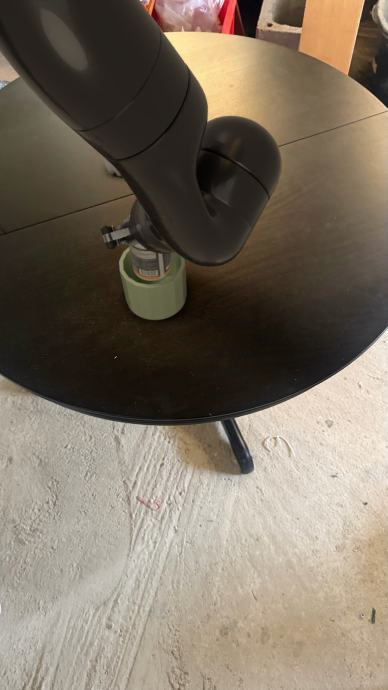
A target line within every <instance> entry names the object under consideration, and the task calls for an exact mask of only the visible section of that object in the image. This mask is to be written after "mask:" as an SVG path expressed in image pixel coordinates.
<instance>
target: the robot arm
mask: <svg viewBox="0 0 388 690" xmlns="http://www.w3.org/2000/svg"><path fill="white" fill-rule="evenodd" d="M0 54H1V55H2V56H3V57H4V59H5V60H6V61H7V62H8V64H9V65H10V66H11V67H12V69H13V70H14V71H15V73H16V74H17V75H18V76H19V78H21V80H22V81H23V82H24V84H26V85H27V87H28V88H29V89H30V90H31V91H32V92H33V93H34V95H36V96H37V97H38V99H39V100H40V101H41V102H42V103H43V104H44V105H45V106H46V107H47V108H48V109H49V110H50V111H51V112H52V113H53V114H54V115H55V116H56V117H57V118H59V120H61V121H62V122H63V123H64V124H65V125H67V127H68V128H70V129H71V130H72V131H73V132H74V133H76V135H78V136H79V137H80V138H81V139H82V140H83V141H85V142H86V143H87V144H88V145H89V146H90V147H92V148H93V149H94V151H96V152H97V153H98V154H99V155H101V156H102V158H103V157H104V158H105V159H106V160H108V161H109V162H110V163H111V164H112V165H113V166H114V167H115V168H116V169H117V171H118V172H119V173H120V174H121V176H120V177H122V179H123V181H125V183H126V185H127V186H128V187H129V189H130V190H131V192H132V193H133V195H134V196H135V198H136V199H135V200H134V202H133V204H132V206H131V208H130V213H129V216H130V217H129V216H128V217H126V218H124V219H123V220H122V223H120V224H118V225H117V226H115V225H108V226H107V225H104V226H102V228H100V229H99V230H100V233H101V235H102V239H103V243H104V244H105V248H106V250H114V249H117V247H119V246H129V243H130V245H131V246H134V245H137V244H140V245H142V246H143V247H144V248H145V249H147V250H149V251H151V252H154V253H158V254H168V253H174V252H176V253H177V254H178V255H179V256H181V257H182V258H184V259H185V261H187V262H189V263H192V264H194V265H197V266H201V267H205V268H206V267H208V268H209V267H210V268H211V267H213V268H214V267H219V266H223V265H226V264H228V263H230V262H231V261H233V260H234V259H235V258H237V256H238V255H239V254H240V253H241V251H242V250H243V248H244V246H245V245H246V243H247V241H248V239H249V238H250V236H251V234H252V232H253V230H254V228H255V227H256V225H257V223H258V221H259V219H260V218H261V216H262V214H263V212H264V210H265V208H266V207H267V205H268V203H269V201H270V199H271V198H272V196H273V194H274V193H275V190H276V188H277V186H278V184H279V182H280V178H281V176H282V168H283V159H282V155H281V151H280V147H279V146H278V143H277V141H276V140H275V138H274V137H273V136H272V134H271V133H270V131H269V130H268V129H266V128H265V127H264V126H262V125H261V124H260V123H258V122H257V121H255V120H253V119H250V118H247V117H244V116H239V115H223V116H218V117H214V118H212V119H210V120H209V105H208V99H207V96H206V95H207V94H205V91H204V88H203V87H202V85H201V84H200V82H199V80H198V79H197V77H196V76H195V74H194V72H193V71H192V70H191V68H190V67H189V66H188V64H187V63H186V62H185V60H184V59H183V58H182V56H181V55H180V53H179V52H178V51H177V49H176V47H174V45H173V44H172V42H171V40H169V38H168V36H166V34H165V33H164V31H163V30H162V28H161V27H160V25H158V23H157V21H156V20H155V19H154V18H153V16H152V15H151V13H149V11H148V9H147V8H146V7H145V6H144V4H143V3H142V1H141V0H0Z"/></svg>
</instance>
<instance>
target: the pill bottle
mask: <svg viewBox="0 0 388 690" xmlns="http://www.w3.org/2000/svg"><path fill="white" fill-rule="evenodd" d="M128 217H130V215H128ZM128 247H129V248H130V254H131V259H132V265H133V269H134V272H135V274H136V275H137V276H138V277H140V278H141V279H143V280H147V281H156V280H159V279H162V278H164V277H165V276H166V275H167V274H168V273H169V271H170V269H171V253H168V254H158V253H154V252H151V251H149V250H147V249H145V248H144V247H143V246H142V245H140V244H137V245H134V246H131V245H130V243H128Z"/></svg>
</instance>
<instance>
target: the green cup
mask: <svg viewBox="0 0 388 690" xmlns="http://www.w3.org/2000/svg"><path fill="white" fill-rule="evenodd" d="M118 265H119V274H120V278H121V284H122V287H123V292H124V297H125V301H126V303H127V306H128V308H129V309H130V311H131V312H132V313H133V314H134V315H136V316H138V317H139V318H142V319H145V320H150V321H159V320H164V319H168V318H171V317H173V316H174V315H175V314H177V313H178V312H180V311H181V310H182V309H183V307H184V305H185V303H186V301H187V294H188V293H187V291H188V290H187V271H186V259H184V258H182V257H181V256H179V255H178V254H177V253H176V252H174V253H171V269H170V271H169V273H168V274H167V275H166V276H165V277H164V278H162V279H159V280H156V281H147V280H143V279H141V278H140V277H138V276H137V275H136V274H135V272H134V269H133V265H132V259H131V254H130V248H129V246H128V247H127V248H126V249H125V250H124V251H123V252H122V254H121V256H120V258H119V261H118Z"/></svg>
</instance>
